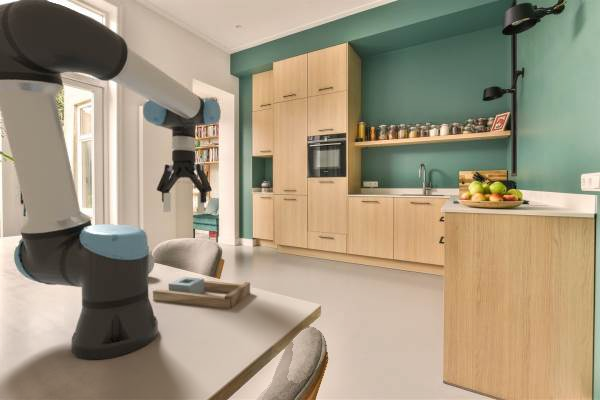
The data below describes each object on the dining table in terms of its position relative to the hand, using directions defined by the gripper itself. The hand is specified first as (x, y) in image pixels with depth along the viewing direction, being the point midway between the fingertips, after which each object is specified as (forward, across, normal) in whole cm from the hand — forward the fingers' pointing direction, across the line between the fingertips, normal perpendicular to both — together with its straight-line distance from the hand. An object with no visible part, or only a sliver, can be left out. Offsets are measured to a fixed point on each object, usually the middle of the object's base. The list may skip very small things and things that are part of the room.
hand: (183, 212), depth 103 cm
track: (+24, -16, +13) cm, 31 cm away
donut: (+24, +16, +2) cm, 29 cm away
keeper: (+24, -11, +13) cm, 29 cm away
